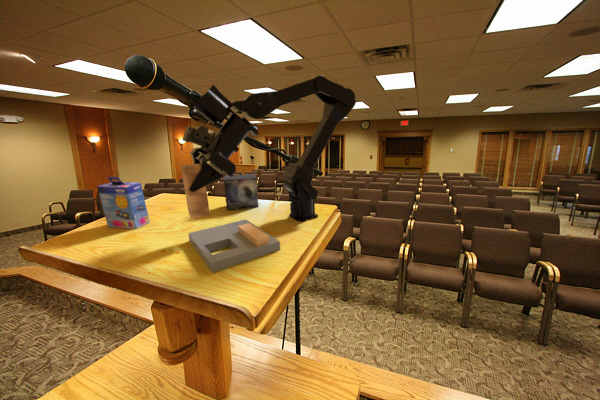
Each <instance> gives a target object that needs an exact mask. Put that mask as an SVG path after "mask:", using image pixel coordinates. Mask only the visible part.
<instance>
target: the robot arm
mask: <svg viewBox="0 0 600 400" xmlns="http://www.w3.org/2000/svg"><path fill="white" fill-rule="evenodd" d="M311 95H315V97H317V99H318V100H320V101H321V103H324V105H323V112H322V113H323V114H322V117H321V119H320V122H318V123H319V124H318V125H317V127H316V129H315V130H314V132H313V134H312V136H311V137H310V140H309V142H308V143H307V144H306V147H305V149H304V151H303V152H302V154H301V156H300V158H299V159H298V160H297V161H296V162H295V163H292V162H289V163H288V166H286V167H287V168H286V170H285V172H283V173H282V175H283V177H282V184H283V187H284V188H285V189H286V190H287V191H288V192H289V194H290V195H291V197H290V201H291V202H290V204H289V205H290V206H289V207H290V209H289V210H290V213H289V214H288V215H289V217H290V218H293V219H295V220H297V221H299V222H304V220H305V221H307V220H311V218H312V219H316V218H318V217H319V214H318V213H316V212H315V210H316V207H315V205H316V202H315V200H317V199H318V198H317V197H318V195H319V191H318V190H317V188H315V187H314V186H312V182H313V180H314V171H315V170H314V169H315V166H316V165H317V163H318V160H319V159H320V157H321V155H322V154H323V152H324V149H325V148H326V147H327V145H328V142H329V141H330V140H331V137H332V135H333V134H334V131H335V130H336V127H337V126H338V124H339V123H340V122H341V121H342V120H344V119H345V118H346V117H347V116H348V115H349V114H350V113H351V111H352V110H353V109H354V107H355V106H356V103H357V99H356V94H355V92H354V91H353V90H352V89H351V88H348V87H345V86H343V85H341V84H338V83H336V82H334V81H332V80H329V79H328V78H326V77H325V76H324V75H315V76H313V77H311V78H310V79H308V80H305V81H301V82H299V83H297V84H294V85H290V86H288V87H284V88H281V89H279V90H274V91H263V92H258V93H252V94H249V95H247V96H245V97H244V98H242V100H239V101H238V100H236V99H235V100H234V101H232V102H231V101H230V100H229V99H228V98H227V97H226V96H225V95H224V94H223V93H222V92H221V91H220V90H219V89H218V87H217V86H215V85H214V84H212V85H211V87H209V89H208V90H207V91H206V92H205V93H203V95H202V96H201V97H200V98H199V99H198V100H197V102H196V103H195V104H194V105H193V109H194V110H196V111H197V112H198V113H199V114H201V115H202V116H203V117H204V118H205V119H206V120H208V121H209V123H211V124H212V125H214V124H216V123H218V124H219V125H221V124H222V123H223V122H224V124H223V125H222V126H221V127H220V129H219V130H218V131H217V132H212V133H211V134H210V133H209V128H208V127H206V126H204V125H198V126H197V127H196V128H195V127H192V126H186V128H185V130H184V134H183V136H182V141H184V142H187V143H192V144H195V145H197V146H200V147H194V148H192V149H191V150H190V152H189V154H190V155H191V159H192V164H200V171H199V172H198V174H197V176H196V178H195V179H194V181H193V183H192V185H191V187H190V189H189V190H190V191H192V192H195V191H197V190H199V189H200V188H202V187H204V186H206V187H207V186H208V185H210V184H212V183H214V182H215V181H217V180H220V179H221V178H223V179H224V176H229V177H232V176H234V174H235V173H236V172H237V167H236V166H237V165H236V164H235V163H234V162H233V161H231V160H230V158H231V156H232V155H233V154H234V153H238V152H239V150H240V148H239V146H240V145H241V144H242V142H243V141H244V140H245V139H246V137H247V136H248V134H249V135H251V136H252V137H254V136H258V135H259V130H258V124H257V123H254V124H253V123H252V122H250V121H249V120H251V121H252V120H260V119H263V118H265V117H266V116H268V115H269V114H271V113H273V112H275V110H277V109H278V108H281V106H284V105H287V104H290V103H293V102H294V101H297V100H301V99H303V98H306V97H308V96H311ZM238 114H240V115H242V116H239V115H238ZM227 118H228V119H227ZM226 119H227V120H226ZM225 120H226V121H225ZM223 173H225V175H224V174H223Z"/></svg>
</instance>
